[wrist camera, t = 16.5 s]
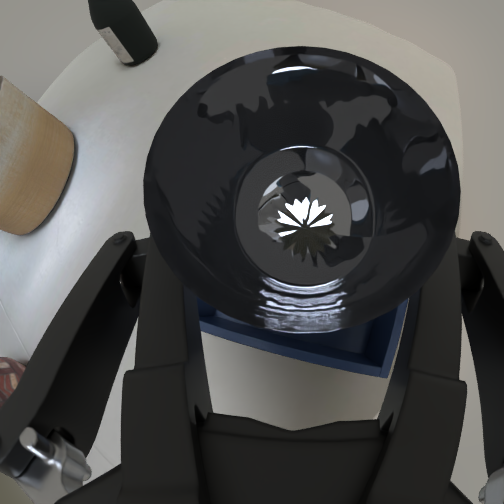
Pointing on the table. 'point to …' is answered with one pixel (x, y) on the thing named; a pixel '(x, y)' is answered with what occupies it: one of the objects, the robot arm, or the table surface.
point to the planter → (30, 160)
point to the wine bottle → (123, 29)
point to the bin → (318, 340)
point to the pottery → (9, 377)
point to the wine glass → (302, 190)
